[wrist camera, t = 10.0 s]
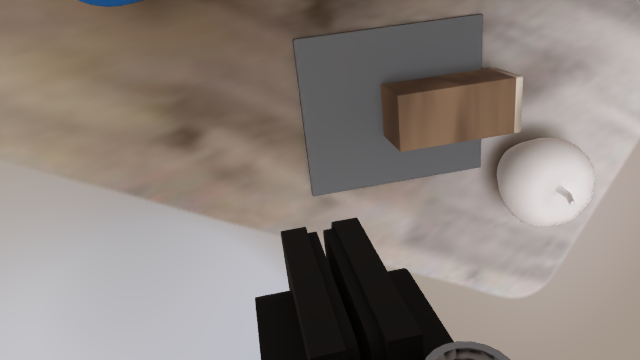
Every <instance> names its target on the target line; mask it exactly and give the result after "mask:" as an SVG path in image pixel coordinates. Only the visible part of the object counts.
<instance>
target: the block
mask: <svg viewBox="0 0 640 360" xmlns="http://www.w3.org/2000/svg"><path fill="white" fill-rule="evenodd" d="M522 89H523V76H520V75H517V74H513V73H510V72H507V71H504V70H501V69H498V68H495V67H494V68H487V69H481V70H474V71H467V72H461V73H454V74H447V75H441V76H434V77H427V78H421V79H414V80H407V81H401V82H394V83H387V84H381V100H382V115H383V131H384V137H385V138H386V139H388V140H389V141H390V142H391V143H392V144H393V145H394V146H395V147H396V148H397V149H398V150H399V151H400V152H404V151H410V150H416V149H422V148H428V147H434V146H440V145H446V144H452V143H458V142H464V141H470V140H476V139H482V138H488V137H494V136H500V135H506V134H512V133H518V132H521V112H522Z"/></svg>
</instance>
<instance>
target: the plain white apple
mask: <svg viewBox="0 0 640 360" xmlns="http://www.w3.org/2000/svg"><path fill="white" fill-rule="evenodd" d="M497 181H498V187H499V191H500V194H501V197H502V199H503V201H504V203H505V205H506V207H507V208H508V210H509V211H510V212H511V213H512V215H514V216H515V217H516V218H518V219H519V220H520V221H522V222H524V223H527V224H529V225H532V226H540V227H546V226H553V225H559V224H563V223H566V222H569V221H572V220H573V219H574V218H575V217H576V216H578V214H579V213H580V212H581V211H582V210H583V209H584V207H585V206H586V205H587V204H588V203H589V201H590V200H591V198H592V194H593V191H594V181H595V172H594V167H593V164H592V163H591V161H590V159H589V157H588V156H587V155H586V154H585V153H584V152H583V151H582V150H581V149H580V148H579V147H577V146H576V145H575V144H573V143H571V142H568V141H566V140H562V139H557V138H537V139H533V140H529V141H525V142H521V143H519V144H517V145H515V146H513V147H511V148H509V149H508V150H507V151H506V152H505V153H504V154H503V156H502V157H501V159H500V161H499V164H498V167H497Z"/></svg>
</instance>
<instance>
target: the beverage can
mask: <svg viewBox="0 0 640 360" xmlns="http://www.w3.org/2000/svg"><path fill="white" fill-rule="evenodd" d="M79 1H81V2H84V3H87V4H91V5H96V6H106V7H112V6H122V5H126V4H131V3H135V2H139V1H143V0H79Z"/></svg>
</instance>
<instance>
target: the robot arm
mask: <svg viewBox="0 0 640 360" xmlns="http://www.w3.org/2000/svg"><path fill="white" fill-rule="evenodd" d="M323 234H324V243H325V251H326V256H325V254H324V251H323V248H322V245H321V243H320V240H319V237H318V235H317V232H312V233H307V230H306V227H302V228H297V229H291V230H286V231H281V238H282V244H283V251H284V257H285V263H286V270H287V276H288V282H289V288H290V291H286V292H281V293H276V294H271V295H266V296H261V297H256V298H255V301H256V312H257V322H258V332H259V343H260V353H261V360H510V359H509V358H508V357H507V356H505V355H504V354H502V353H501V352H500V351H498V350H496V349H494V348H492V347H490V346H487V345H485V344H480V343H476V342H459V341H458V342H454V341H453V340H452V338H451V337H450V335H449V334H448V332H447V331H446V329H445V327H444V326H443V324H442V323H441V321H440V320H439V318H438V317H437V315H436V313H435V312H434V310H433V309H432V307H431V305H430V304H429V302H428V301H427V299H426V298H425V296H424V294H423V293H422V291H421V290H420V288H419V287H418V285H417V283H416V282H415V280H414V279H413V277H412V276H411V274H410V273H409V271H408V270H407V269H405V268H403V269H398V270H393V271H388V272H387V270H386V268H385V266H384V265H383V263H382V261H381V259H380V258H379V256H378V254H377V252H376V250H375V249H374V247H373V245H372V243H371V242H370V240H369V238H368V236H367V234H366V233H365V231H364V229H363V227H362V226H361V224H360V222H359V220H358V219H357V218H352V219H346V220H341V221H335V222H332V229H328V230H324V231H323Z"/></svg>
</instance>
